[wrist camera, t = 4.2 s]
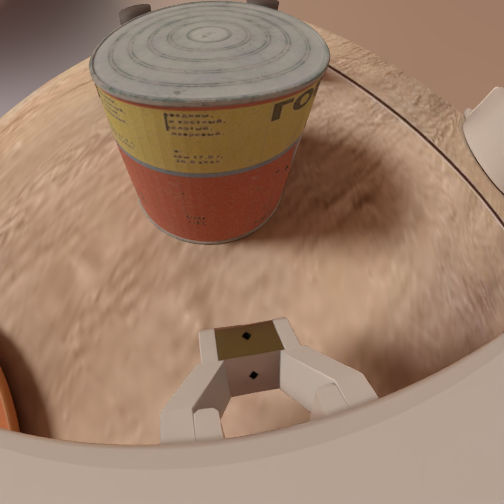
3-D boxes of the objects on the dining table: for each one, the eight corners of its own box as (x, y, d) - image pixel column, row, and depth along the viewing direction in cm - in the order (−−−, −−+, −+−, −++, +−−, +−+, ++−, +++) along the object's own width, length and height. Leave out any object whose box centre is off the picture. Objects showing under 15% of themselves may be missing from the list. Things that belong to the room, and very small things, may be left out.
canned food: (296, 237, 20) (368, 108, 9) (134, 251, 19) (55, 126, 8) (270, 124, 24) (296, 4, 13) (144, 132, 23) (118, 12, 11)
